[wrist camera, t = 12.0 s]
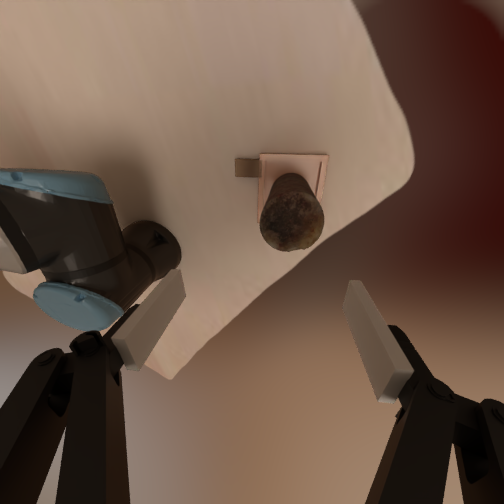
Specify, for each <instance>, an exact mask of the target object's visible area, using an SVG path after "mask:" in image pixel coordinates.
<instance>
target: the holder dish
mask: <svg viewBox="0 0 504 504" xmlns="http://www.w3.org/2000/svg"><path fill="white" fill-rule="evenodd" d="M259 160H260V161H259V162H260V163H259V164H260V165H259V166H261V164H262V166H261V167H262V170H261V169H259V170H261V172H262V173H260V171H259V174H262V175H260V177H261V176H262V178H259V192H258V223H260V216H261V213H262V210H263V208H264V205H265V203H266V201H267V198H268V196H269V193H270V190H271V187H272V185H273V183H274V182H275V180H276V179H277V178H279V177H280V176H281V175H284V174H286V173H296V174H299V175H301V176H302V177H304V178H305V180H306V181H307V182H308V184H309V186H310V188H311V190H312V191H313V193H314V195H315V196H316V198H317V200H318V201H319V203H320V205H321V199H322V194H323V188H324V183H325V177H326V172H327V166H328V161H329V155H310V154H267V153H260V159H259ZM261 161H262V162H261ZM261 167H259V168H261Z"/></svg>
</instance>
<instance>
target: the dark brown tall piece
mask: <svg viewBox="0 0 504 504" xmlns="http://www.w3.org/2000/svg"><path fill="white" fill-rule="evenodd" d="M259 225H260V231H261V234H262V236H263V238H264V240H265V241H266V242H267V243H268V244H269V245H270V246H271V247H273V248H275V249H277V250H280V251H287V252H290V251H293V250H298V249H306V248H309V247H310V246H312V245H313V244H314V243H315V241H317V240H318V239H319V237H320V235H321V233H322V229H323V226H324V214H323V210H322V207H321V205H320V203H319V201H318V200H317V198H316V196H315V195H314V193H313V191H312V190H311V188H310V186H309V184H308V182H307V181H306V180H305V178H304V177H302V176H301V175H299V174H296V173H286V174H284V175H281V176H280V177H279V178H277V179H276V180H275V182H274V183H273V185H272V187H271V190H270V193H269V196H268V198H267V201H266V203H265V205H264V208H263V210H262V213H261V216H260V223H259Z"/></svg>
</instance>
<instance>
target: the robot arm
mask: <svg viewBox="0 0 504 504" xmlns="http://www.w3.org/2000/svg"><path fill="white" fill-rule="evenodd" d="M180 261H181V250H180V247H179V244H178V242H177V240H176V239H175V237H174V236H173V235H172V234H171V233H170V232H169V231H168V230H167V229H166V228H164V227H163V226H161V225H159V224H157V223H154V222H151V221H138V222H135V223H133V224H131V225H129V226H127V227H126V228H125V229H124V230H123V231H122V232H121V229H120V226H119V223H118V220H117V217H116V213H115V210H114V207H113V201H112V200H111V199H110V197H109V194H108V192H107V189H106V187H105V184H104V182H103V181H102V180H101V179H100V178H99V177H98V176H96V175H94V174H92V173H87V172H78V171H64V170H45V169H18V168H7V169H4V168H3V169H0V270H4V271H9V272H14V273H19V274H26V273H29V272H31V271H34V270H37V269H40V270H41V271H42V273H43V275H44V276H45V278H46V282H43V283H40V284H39V285H38V287H37V288H36V289H35V290H34V294H33V298H34V300H35V302H36V304H37V305H38V306H39V307H40V308H41V309H42V310H43V311H44V312H45V313H46V314H48V315H49V316H50V317H52V318H53V319H55V320H57V321H58V322H60V323H62V324H64V325H67V326H69V327H72V328H75V329H78V330H82V331H87V332H84V333H83V334H80V335H79V336H78V337H76V338H75V339H74V340H73V341H72V342H71V344H70V346H69V347H70V349H71V350H72V352H71V353H64V352H63V351H62V349H60V348H53V349H50V350H47V351H45V352H43V353H42V354H40V355H38V356H37V357H36V358H35V359H34V360H33V361H32V362H31V363H30V365H29V366H28V368H27V369H26V371H25V372H24V374H23V375H22V377H21V378H20V380H19V381H18V383H17V384H16V386H15V387H14V389H13V390H12V392H11V393H10V395H9V396H8V398H7V399H6V401H5V402H4V404H3V405H2V407H1V408H0V504H36V503H37V500H38V498H39V495H40V493H41V490H42V487H43V485H44V482H45V480H46V477H47V474H48V472H49V469H50V467H51V464H52V461H53V459H54V456H55V453H56V451H57V448H58V445H59V443H60V440H61V438H62V435H63V433H64V430H65V427H66V431H65V439H64V446H63V453H62V460H61V467H60V475H59V481H58V488H57V495H56V503H55V504H130V493H129V478H128V464H127V450H126V436H125V421H124V405H123V391H122V377H121V371H120V368H121V367H122V365H123V364H125V366H126V368H127V370H134V371H139V370H140V369H141V367H142V366H143V364H144V363H145V361H146V359H147V358H148V356H149V355H150V353H151V351H152V350H153V348H154V347H155V345H156V343H157V342H158V340H159V339H160V337H161V335H162V334H163V332H164V331H165V329H166V327H167V326H168V324H169V323H170V321H171V319H172V318H173V316H174V315H175V313H176V311H177V310H178V308H179V307H180V305H181V303H182V302H183V300H184V299H185V297H186V293H185V289H184V284H183V279H182V275H181V270H177V269H176V268H177V267H178V265H179V263H180ZM163 277H164V278H163ZM161 278H163V279H162V280H161V282H160V283H159V284H158V285H157V286H156V287H155V288H154V290H153V291H152V292H151V293H150V294H149V295H148V296H147V298H146V299H145V300H144V301H143V302H142V303H141V304H135V305H134V306H132V307H131V308H129V307H130V306H131V305H132V304H133V303H134V302H135V301H136V300H137V299H138V298H139V297H140V295H141V294H142V293H143V292H144V291H145V290H146V289H147V288H148V287H149V286H150V285H151V284H152V283H153V282H155V281H157V280H159V279H161ZM128 308H129V309H128ZM342 308H343V311H344V314H345V317H346V319H347V322H348V324H349V327H350V330H351V332H352V335H353V338H354V340H355V343H356V345H357V348H358V351H359V353H360V356H361V358H362V361H363V364H364V367H365V369H366V372H367V374H368V377H369V380H370V382H371V385H372V388H373V390H374V393H375V395H376V398H377V401H378V402H386V403H395V401H396V399H397V398H399V400H400V403H401V405H402V407H401V408H400V410H399V411H398V413H397V414H396V416H395V417H396V418H397V419H396V422H395V425H394V427H393V430H392V433H391V435H390V438H389V440H388V443H387V446H386V449H385V451H384V454H383V457H382V459H381V462H380V465H379V467H378V471H377V473H376V475H375V478H374V481H373V484H372V486H371V489H370V492H369V494H368V497H367V500H366V502H365V504H443V498H444V491H445V485H446V479H447V472H448V466H449V459H450V453H451V446H452V443H453V444H454V448H455V454H456V459H457V466H458V472H459V478H460V483H461V489H462V495H463V501H464V504H504V404H503V403H501V402H499V401H496V400H493V399H484V400H483V401H482V402H481V403H478V402H475V401H473V400H470V399H467V398H464V397H462V396H459V395H457V394H455V393H454V392H453V391H452V390H451V389H450V388H449V387H448V386H447V385H446V384H444V383H443V382H442V381H440V380H438V379H436V378H434V376H433V375H432V373H431V372H430V370H429V369H428V367H427V366H426V364H425V363H424V361H423V360H422V358H421V357H420V355H419V354H418V352H417V351H416V350H415V348H414V346H413V345H412V343H410V340H409V339H408V337H407V336H406V334H405V333H404V332H403V331H402V330H401V329H400V328H398V327H397V326H395V325H387V324H386V322H385V321H384V319H383V317H382V316H381V314H380V312H379V311H378V309H377V307H376V306H375V304H374V302H373V300H372V299H371V297H370V295H369V294H368V292H367V290H366V289H365V287H364V285H363V284H362V282H361V281H354V280H350V281H349V285H348V289H347V293H346V297H345V300H344V304H343V307H342ZM127 309H128V310H127ZM122 315H123V316H122ZM119 317H121V318H120V319H119V320H118V321H117V322H116V323H115V324H114V325H113V326H112V327H111V328H110V329H109V330H108V332H107V333H106V334H105V335H104V336H103V337H102V336H101V334H100V332H99V331H101V330H104V329H106V328H107V327H109V326H110V325H111V324H112V323H113V322H115V321H116V320H117V319H118V318H119Z"/></svg>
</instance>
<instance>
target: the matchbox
mask: <svg viewBox="0 0 504 504" xmlns="http://www.w3.org/2000/svg"><path fill="white" fill-rule="evenodd" d="M259 161H260V160H259V159H235V176H236V177H259V178H262V176H261V177H260V175H262V174H259V171H260V173H262V172H261V170H262V167H261V166H262V164H261V166H259V165H260V164H259V163H260V162H259ZM261 162H262V161H261ZM259 167H261V168H259ZM259 169H261V170H259Z"/></svg>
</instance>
